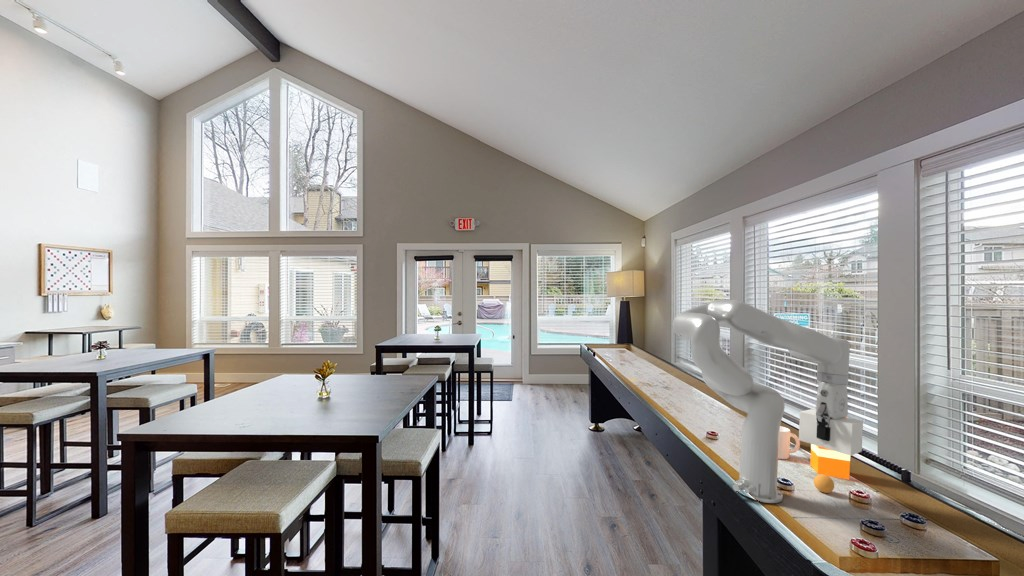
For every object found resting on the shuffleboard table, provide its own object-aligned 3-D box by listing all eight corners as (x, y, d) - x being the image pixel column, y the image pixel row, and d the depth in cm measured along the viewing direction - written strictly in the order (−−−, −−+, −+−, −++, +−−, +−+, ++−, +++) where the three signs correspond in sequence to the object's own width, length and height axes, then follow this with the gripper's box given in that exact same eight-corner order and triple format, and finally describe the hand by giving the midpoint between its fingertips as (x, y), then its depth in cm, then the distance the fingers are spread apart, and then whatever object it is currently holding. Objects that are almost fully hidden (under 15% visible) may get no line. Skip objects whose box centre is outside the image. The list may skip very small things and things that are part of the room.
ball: (807, 485, 128) (824, 498, 124) (815, 472, 126) (832, 485, 122) (815, 481, 130) (832, 494, 126) (823, 469, 128) (840, 482, 125)
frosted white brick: (850, 455, 118) (852, 424, 118) (798, 440, 129) (800, 411, 129) (861, 451, 122) (863, 421, 122) (810, 436, 133) (811, 409, 133)
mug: (794, 454, 157) (795, 426, 157) (804, 462, 149) (806, 433, 149) (759, 450, 160) (760, 423, 160) (768, 458, 151) (769, 430, 151)
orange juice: (849, 479, 136) (852, 418, 137) (817, 474, 139) (820, 414, 140) (840, 470, 144) (842, 412, 144) (809, 465, 147) (812, 408, 147)
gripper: (834, 383, 118) (831, 446, 117) (859, 379, 127) (856, 437, 127) (804, 378, 124) (801, 437, 124) (830, 374, 133) (827, 430, 133)
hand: (829, 437), depth 125 cm, fingers closed on frosted white brick, 7 cm apart
